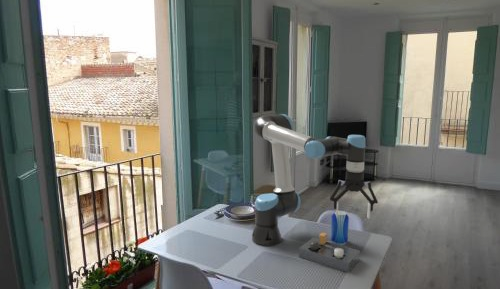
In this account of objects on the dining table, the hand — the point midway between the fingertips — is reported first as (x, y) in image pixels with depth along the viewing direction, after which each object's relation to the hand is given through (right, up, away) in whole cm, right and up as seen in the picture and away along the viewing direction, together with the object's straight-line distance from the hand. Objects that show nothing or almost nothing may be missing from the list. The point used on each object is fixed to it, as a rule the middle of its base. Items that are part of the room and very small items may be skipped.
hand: (352, 216), depth 158 cm
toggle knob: (-11, -15, +11) cm, 22 cm away
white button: (-6, -18, -1) cm, 19 cm away
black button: (-16, -17, +6) cm, 24 cm away
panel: (-9, -21, +6) cm, 23 cm away
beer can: (0, -18, +23) cm, 29 cm away
